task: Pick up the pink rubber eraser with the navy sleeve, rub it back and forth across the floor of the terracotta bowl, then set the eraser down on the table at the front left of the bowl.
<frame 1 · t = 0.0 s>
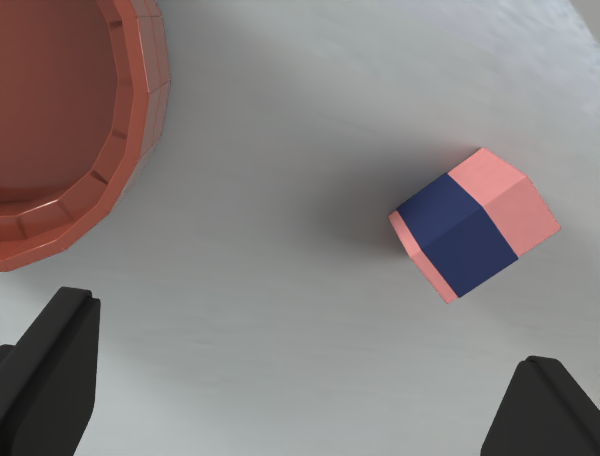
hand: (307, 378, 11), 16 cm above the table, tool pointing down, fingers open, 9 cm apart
eraser: (450, 204, 27), on the table
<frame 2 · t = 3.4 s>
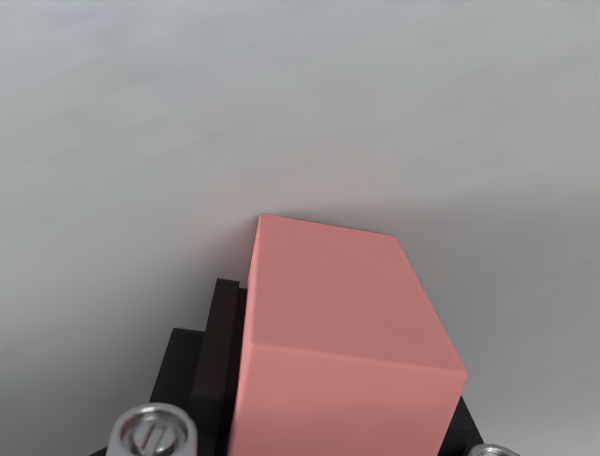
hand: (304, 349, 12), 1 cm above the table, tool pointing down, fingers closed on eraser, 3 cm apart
eraser: (303, 332, 13), on the table, touching gripper
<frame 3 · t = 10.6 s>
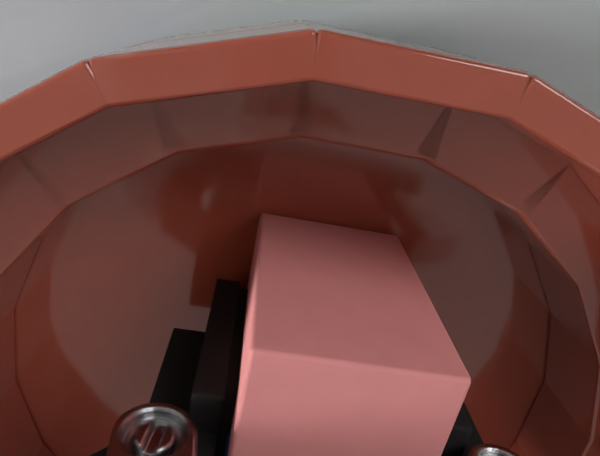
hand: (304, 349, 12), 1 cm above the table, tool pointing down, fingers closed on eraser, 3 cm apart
eraser: (304, 332, 13), point 1 cm above the table, touching bowl, gripper
bowl: (287, 364, 14), on the table
when the fingers open (1 cm above the table, at t = 17.9 s): eraser stays where it is, on the table.
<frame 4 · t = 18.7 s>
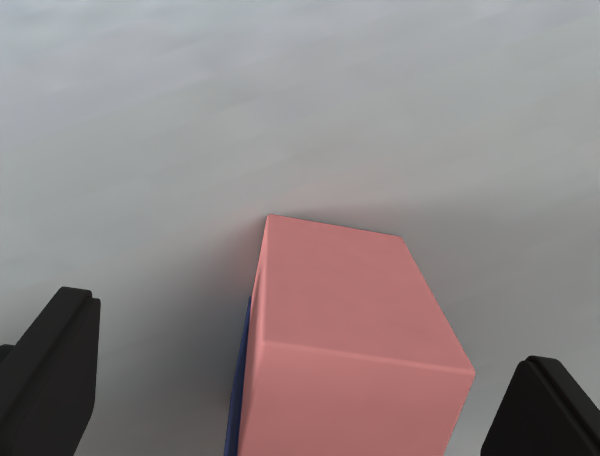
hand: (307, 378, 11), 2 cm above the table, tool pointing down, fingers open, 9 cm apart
eraser: (309, 332, 13), on the table
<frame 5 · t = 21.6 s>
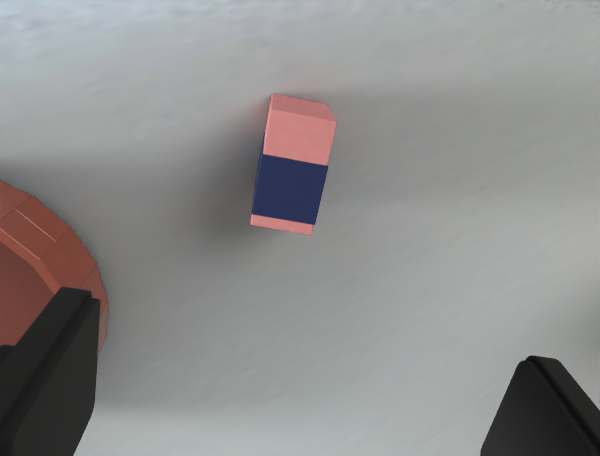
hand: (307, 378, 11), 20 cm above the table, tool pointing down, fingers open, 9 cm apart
eraser: (289, 150, 30), on the table
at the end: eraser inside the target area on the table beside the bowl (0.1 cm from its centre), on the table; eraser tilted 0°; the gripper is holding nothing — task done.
